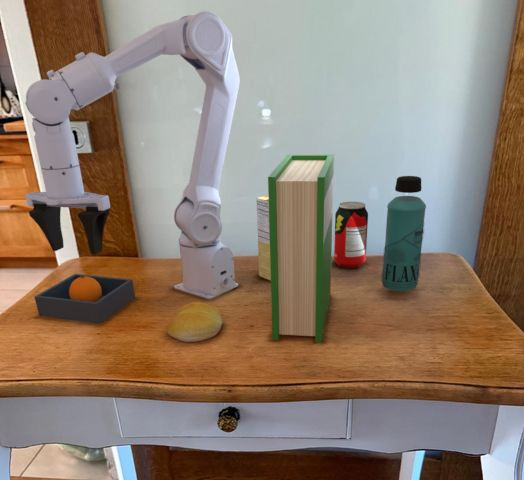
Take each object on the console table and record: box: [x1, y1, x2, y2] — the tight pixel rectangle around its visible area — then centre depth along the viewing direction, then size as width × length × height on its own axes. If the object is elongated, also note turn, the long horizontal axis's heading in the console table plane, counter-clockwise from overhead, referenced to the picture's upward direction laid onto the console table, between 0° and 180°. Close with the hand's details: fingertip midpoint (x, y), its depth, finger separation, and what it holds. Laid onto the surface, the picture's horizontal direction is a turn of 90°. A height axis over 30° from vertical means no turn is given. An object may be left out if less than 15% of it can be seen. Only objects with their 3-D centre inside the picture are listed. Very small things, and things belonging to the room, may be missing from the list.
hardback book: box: [267, 154, 335, 343], centre depth 85 cm, size 18×7×24 cm, turn 170°
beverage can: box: [333, 201, 369, 269], centre depth 109 cm, size 6×6×12 cm
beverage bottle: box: [380, 175, 427, 292], centre depth 94 cm, size 6×7×20 cm
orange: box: [69, 274, 102, 302], centre depth 95 cm, size 5×5×6 cm
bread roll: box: [166, 301, 224, 343], centre depth 86 cm, size 8×9×4 cm
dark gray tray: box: [34, 273, 136, 325], centre depth 96 cm, size 12×11×4 cm
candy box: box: [256, 194, 271, 282], centre depth 105 cm, size 9×4×15 cm, turn 129°
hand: (77, 250), depth 92 cm, fingers open, 7 cm apart
